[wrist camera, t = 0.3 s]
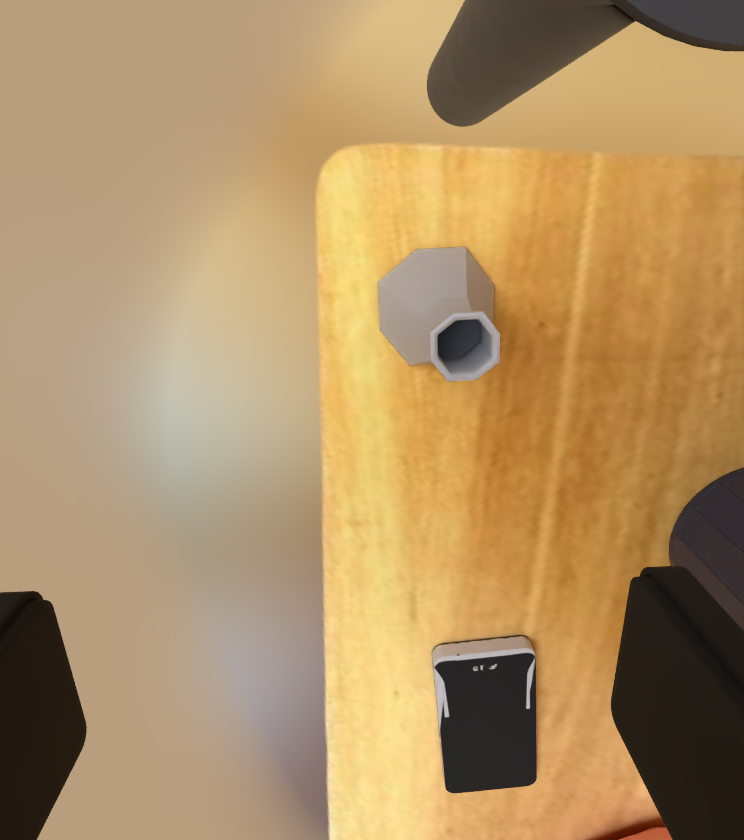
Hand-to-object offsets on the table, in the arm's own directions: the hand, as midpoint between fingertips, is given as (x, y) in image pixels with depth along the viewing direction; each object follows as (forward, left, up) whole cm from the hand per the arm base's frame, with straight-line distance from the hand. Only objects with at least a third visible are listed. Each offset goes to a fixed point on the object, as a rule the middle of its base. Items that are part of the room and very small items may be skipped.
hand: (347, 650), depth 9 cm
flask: (-1, +5, -27) cm, 27 cm away
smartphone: (+32, +8, -27) cm, 43 cm away
